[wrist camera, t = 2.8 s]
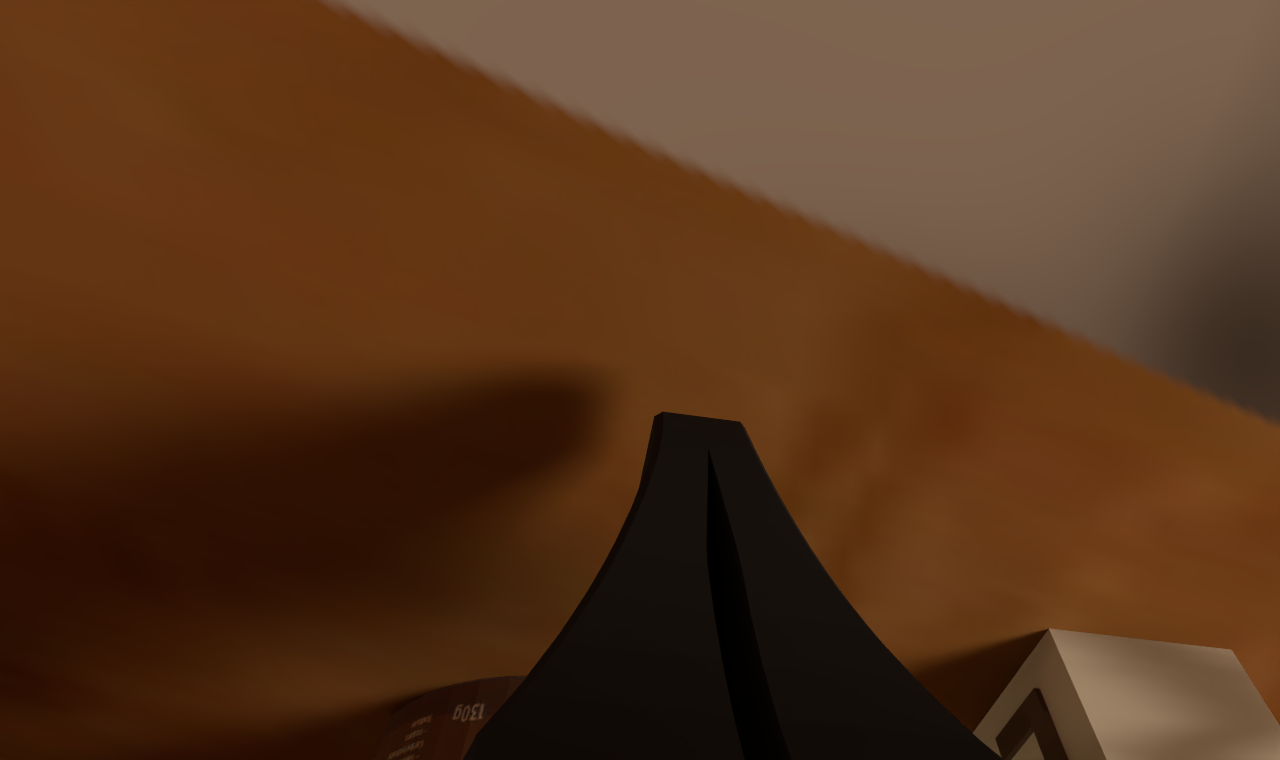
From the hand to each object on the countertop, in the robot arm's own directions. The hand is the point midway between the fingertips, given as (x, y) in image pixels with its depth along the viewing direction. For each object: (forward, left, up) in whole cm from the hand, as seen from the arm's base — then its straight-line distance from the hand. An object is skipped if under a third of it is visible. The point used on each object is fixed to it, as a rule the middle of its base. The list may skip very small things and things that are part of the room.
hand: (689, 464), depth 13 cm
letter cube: (-12, +8, -3) cm, 15 cm away
